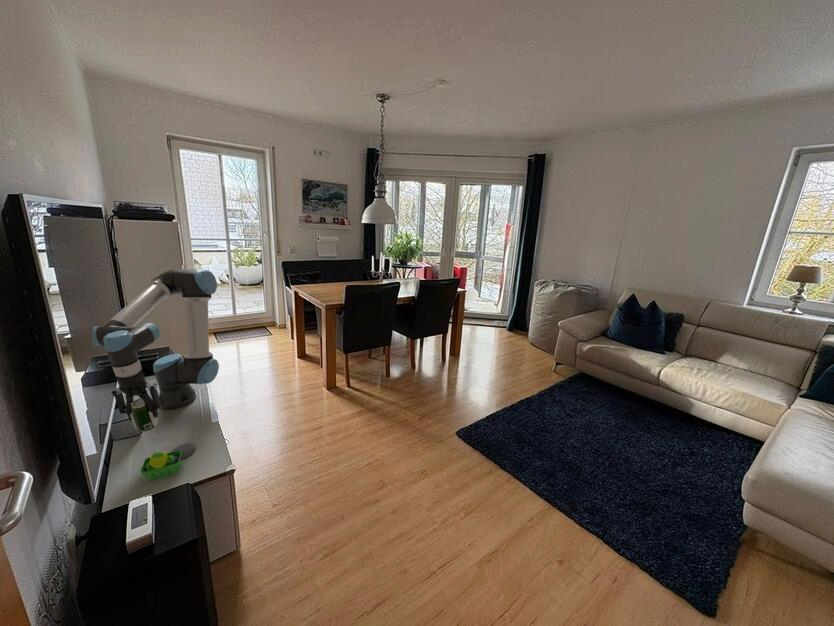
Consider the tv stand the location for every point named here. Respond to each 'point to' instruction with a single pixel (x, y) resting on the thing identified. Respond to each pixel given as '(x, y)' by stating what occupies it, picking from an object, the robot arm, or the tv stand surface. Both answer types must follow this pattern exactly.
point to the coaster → (185, 450)
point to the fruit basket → (161, 464)
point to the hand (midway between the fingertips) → (146, 424)
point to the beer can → (142, 415)
